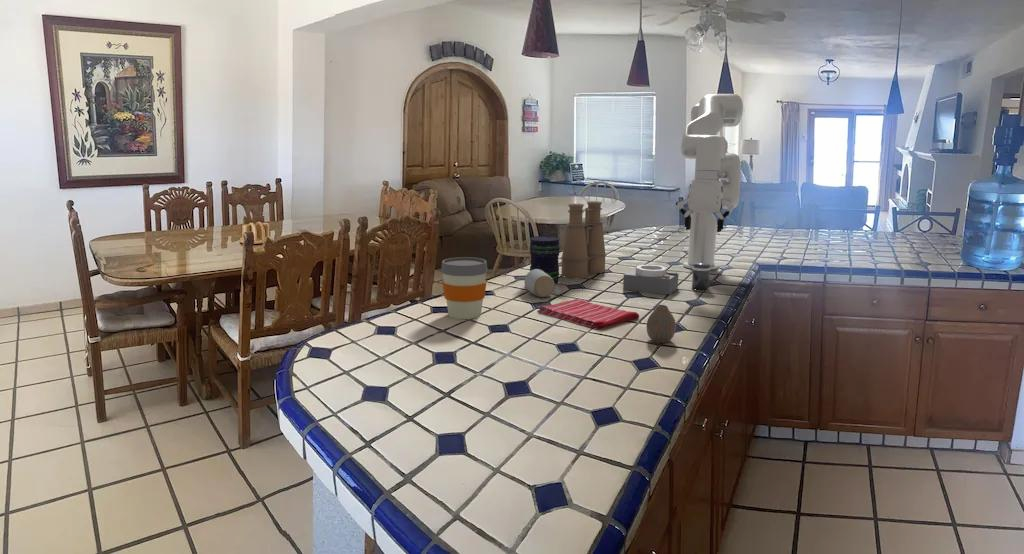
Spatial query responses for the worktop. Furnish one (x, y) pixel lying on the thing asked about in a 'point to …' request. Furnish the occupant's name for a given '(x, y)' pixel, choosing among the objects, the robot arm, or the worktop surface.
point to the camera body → (651, 279)
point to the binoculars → (584, 242)
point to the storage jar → (545, 255)
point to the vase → (661, 325)
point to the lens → (700, 276)
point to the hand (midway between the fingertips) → (703, 230)
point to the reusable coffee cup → (464, 286)
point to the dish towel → (588, 314)
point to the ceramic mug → (540, 283)
